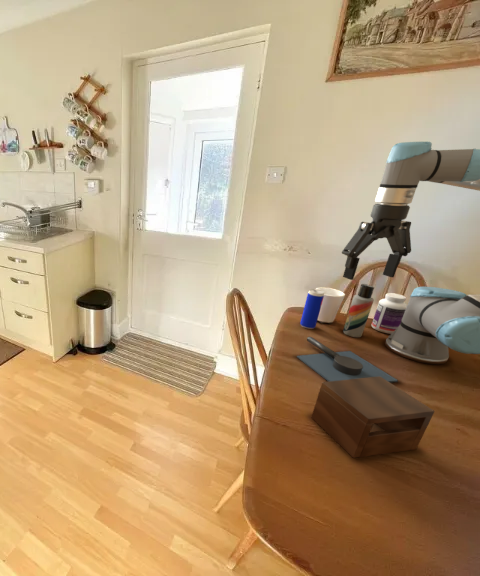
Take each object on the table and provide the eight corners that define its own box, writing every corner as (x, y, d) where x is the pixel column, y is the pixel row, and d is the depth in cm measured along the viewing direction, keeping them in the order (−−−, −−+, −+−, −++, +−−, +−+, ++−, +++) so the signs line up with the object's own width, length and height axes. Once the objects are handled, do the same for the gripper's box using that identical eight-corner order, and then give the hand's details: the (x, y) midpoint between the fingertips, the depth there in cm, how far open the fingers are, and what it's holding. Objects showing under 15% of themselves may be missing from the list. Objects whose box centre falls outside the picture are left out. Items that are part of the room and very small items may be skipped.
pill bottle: (403, 333, 119) (416, 298, 114) (388, 336, 117) (401, 301, 111) (379, 323, 126) (391, 290, 121) (365, 326, 124) (376, 293, 119)
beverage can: (317, 329, 122) (327, 294, 116) (302, 328, 123) (312, 293, 117) (311, 323, 126) (321, 289, 121) (297, 322, 127) (306, 288, 122)
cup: (302, 314, 134) (309, 287, 130) (326, 314, 134) (334, 287, 129) (317, 325, 125) (325, 296, 120) (342, 325, 125) (351, 296, 120)
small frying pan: (315, 341, 113) (317, 334, 112) (366, 374, 95) (369, 367, 94) (298, 342, 112) (299, 336, 111) (346, 376, 94) (348, 369, 93)
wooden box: (366, 411, 81) (379, 376, 77) (416, 449, 70) (435, 411, 66) (311, 417, 79) (322, 382, 75) (353, 458, 68) (368, 419, 64)
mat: (349, 352, 107) (350, 350, 107) (397, 381, 92) (398, 380, 92) (296, 357, 104) (296, 355, 104) (337, 388, 90) (337, 386, 89)
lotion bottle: (338, 330, 121) (353, 282, 114) (352, 329, 121) (367, 281, 114) (351, 338, 116) (368, 288, 108) (365, 337, 116) (382, 287, 109)
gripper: (364, 206, 80) (341, 283, 88) (446, 204, 83) (417, 279, 91) (339, 203, 87) (320, 275, 95) (416, 201, 90) (391, 271, 98)
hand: (368, 277), depth 93 cm, fingers open, 13 cm apart
